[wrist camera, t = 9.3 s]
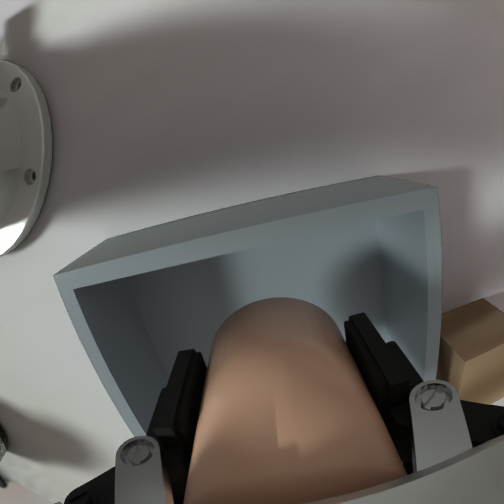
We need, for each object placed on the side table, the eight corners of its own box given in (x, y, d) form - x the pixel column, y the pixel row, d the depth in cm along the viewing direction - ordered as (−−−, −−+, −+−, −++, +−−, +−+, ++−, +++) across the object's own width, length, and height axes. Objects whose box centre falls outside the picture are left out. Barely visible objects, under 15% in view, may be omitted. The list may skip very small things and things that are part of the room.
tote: (106, 239, 16) (53, 275, 11) (378, 175, 15) (436, 186, 10) (202, 458, 21) (196, 517, 15) (390, 419, 20) (417, 473, 15)
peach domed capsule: (193, 313, 11) (139, 481, 4) (335, 282, 11) (428, 432, 4) (230, 414, 12) (221, 563, 6) (347, 390, 12) (399, 532, 5)
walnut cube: (424, 319, 18) (465, 361, 13) (482, 297, 18) (527, 330, 13) (420, 378, 19) (451, 423, 15) (474, 355, 19) (510, 392, 14)
